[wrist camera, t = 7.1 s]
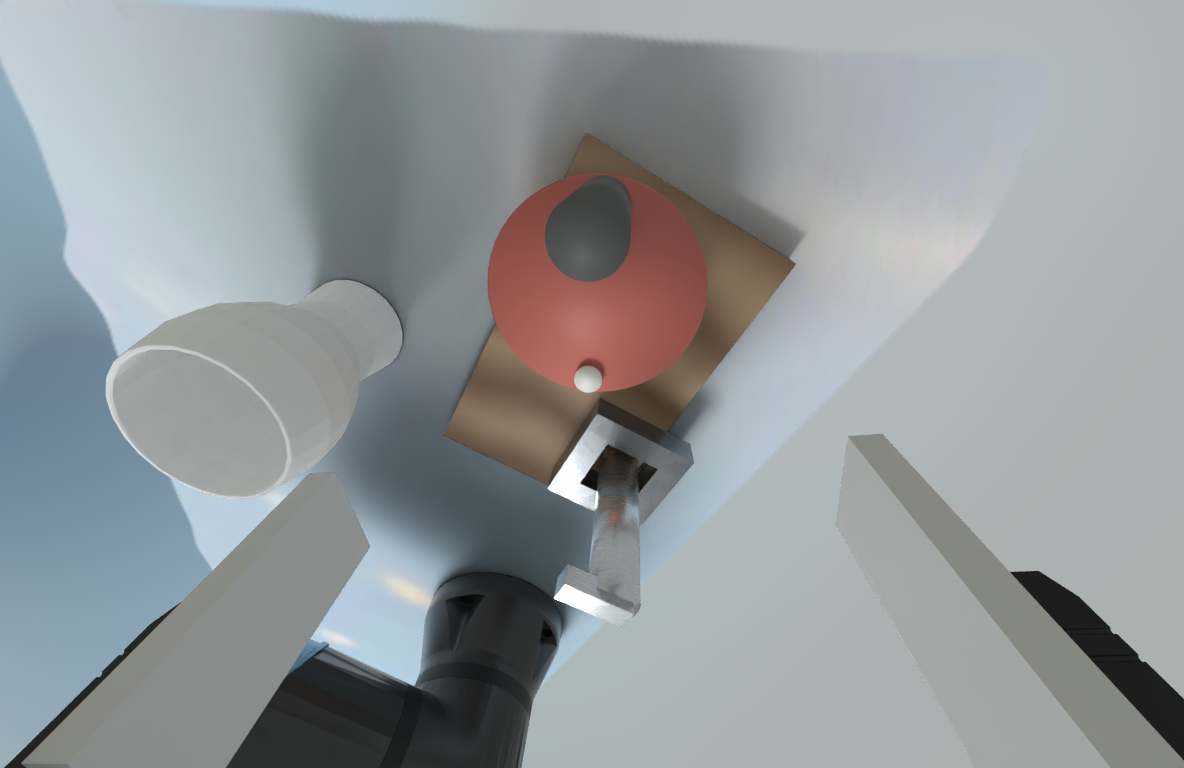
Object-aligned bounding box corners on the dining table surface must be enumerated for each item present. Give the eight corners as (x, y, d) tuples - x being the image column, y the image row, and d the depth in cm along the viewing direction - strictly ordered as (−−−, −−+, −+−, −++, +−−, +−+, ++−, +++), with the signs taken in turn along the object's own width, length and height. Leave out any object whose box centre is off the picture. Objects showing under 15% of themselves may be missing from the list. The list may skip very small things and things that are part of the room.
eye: (636, 510, 41) (636, 531, 39) (552, 470, 40) (547, 489, 38) (690, 444, 38) (693, 462, 35) (599, 397, 36) (597, 413, 34)
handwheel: (497, 367, 32) (431, 476, 21) (494, 162, 26) (398, 174, 15) (682, 387, 32) (707, 509, 21) (723, 184, 26) (787, 211, 15)
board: (605, 500, 43) (603, 536, 39) (449, 426, 41) (429, 456, 37) (789, 258, 32) (811, 275, 28) (587, 133, 29) (580, 131, 25)
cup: (317, 230, 33) (109, 287, 20) (443, 315, 36) (331, 416, 22) (273, 337, 38) (79, 440, 25) (388, 406, 40) (268, 535, 27)
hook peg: (625, 478, 40) (622, 639, 27) (575, 453, 39) (546, 607, 26) (645, 452, 38) (651, 609, 25) (593, 426, 38) (572, 575, 25)
